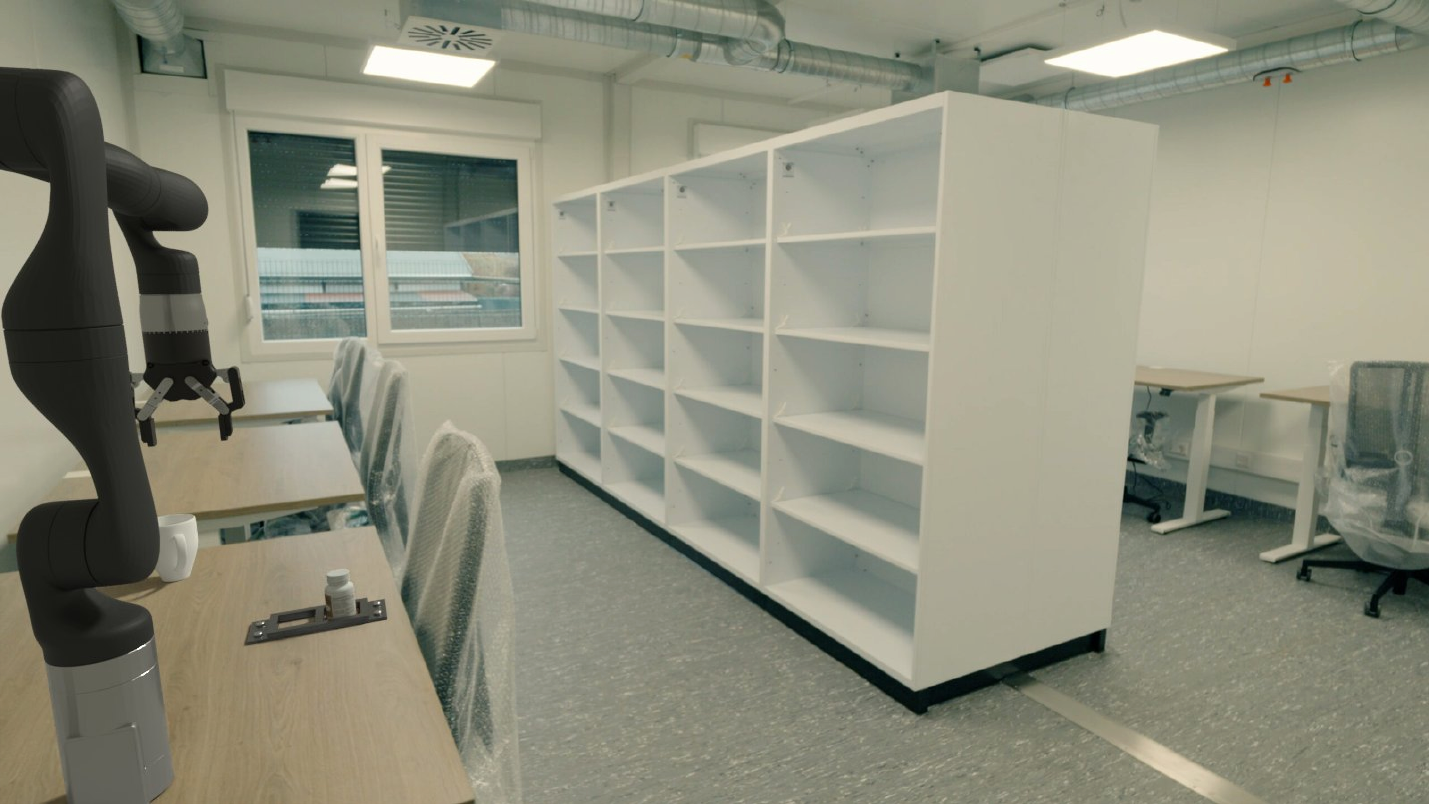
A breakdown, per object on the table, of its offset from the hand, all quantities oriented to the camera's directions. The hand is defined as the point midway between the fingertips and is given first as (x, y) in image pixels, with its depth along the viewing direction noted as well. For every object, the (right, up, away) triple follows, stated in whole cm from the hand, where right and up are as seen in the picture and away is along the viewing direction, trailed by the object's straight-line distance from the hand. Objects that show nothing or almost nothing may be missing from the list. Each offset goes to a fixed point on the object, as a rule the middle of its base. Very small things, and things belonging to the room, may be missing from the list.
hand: (189, 442), depth 108 cm
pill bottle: (+12, -30, +19) cm, 38 cm away
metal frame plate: (+9, -30, +18) cm, 37 cm away
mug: (-27, -28, +36) cm, 53 cm away
